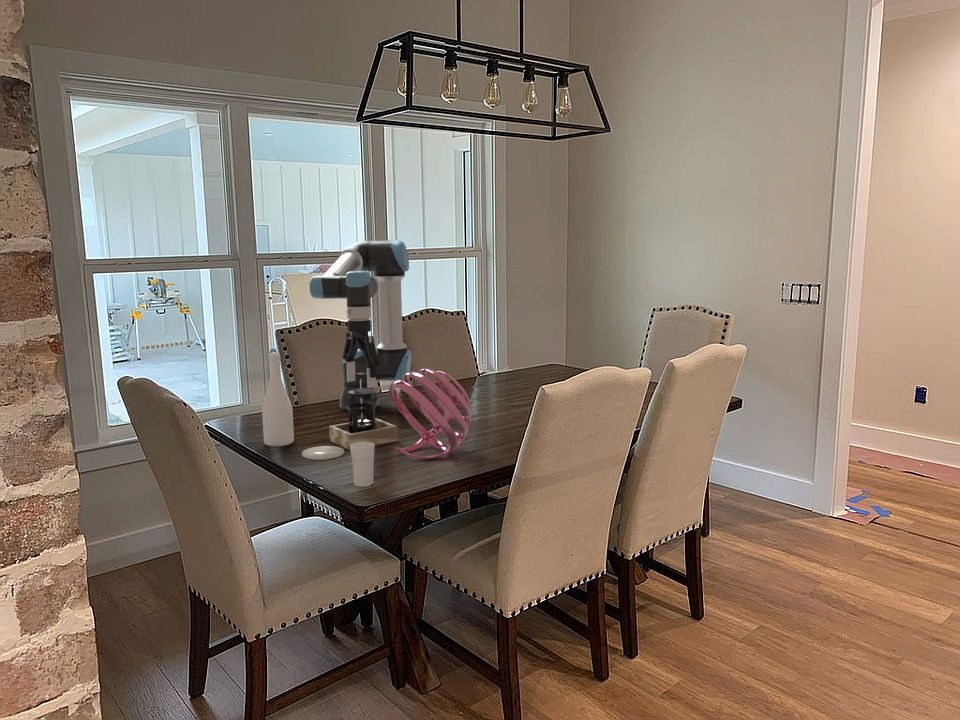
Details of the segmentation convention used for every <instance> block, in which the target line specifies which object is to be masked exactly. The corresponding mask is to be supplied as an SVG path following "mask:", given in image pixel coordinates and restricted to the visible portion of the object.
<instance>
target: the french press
mask: <svg viewBox="0 0 960 720" xmlns="http://www.w3.org/2000/svg"><path fill="white" fill-rule="evenodd" d="M366 374H367V373H363V372H359V373H355V374H354V375H358V376H359V379H360V389H353V390H349V391H347V394H349V398H350V397H352V396H359V397H361V403H355V404H351V405H348V410H347V411H348V423H349V433H351V434H352V433H358V432H363V431H368V430H374V429H375V418H376V407H375V404H373V403H362V399H364V400H369V399H372V398H374V395H373V393H374V392H376V390H375V389H374V390H373V389H361V379H362V375H366ZM355 407H361V409H352V408H355ZM362 407H366V409H362ZM358 414H361V415H360V416H361V418H360V419H359V418H358ZM363 414H365V418H363ZM352 427H353V429H352ZM358 427H366V428H358Z"/></svg>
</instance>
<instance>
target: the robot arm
mask: <svg viewBox="0 0 960 720" xmlns="http://www.w3.org/2000/svg"><path fill="white" fill-rule="evenodd" d="M409 265H410V261H409V252H408V249H407V246H406V244H405V242H403V241H402V240H396V239H395V240H394V239H391V240H389V239H388V240H387V239H385V240H360V241H358V242H355V243H353V244H350V245H348V246H346V247H345V248H344V249H343V250H341V252H339V254H338V256H337V260H336V261H335V262H334V263H333V265H332V266H331V267H330V268H329V269H328V270H327V271H326V272H325V273H324V274H323V275H314V276H312V277H311V278H310V280H309V293H310V296H311V297H312V299H321V300H325V299H326V300H328V299H331V300H333V299H337V300H338V299H340V300H341V299H346V310H345V311H346V313H347V315H346V316H347V317H346V318H347V319H348V320H347V332H346V333H345V334H346V335H345V337H346V339H345V343H344V349H343V353H342V363H341V364H342V379H343V380H342V381H343V385H342V386H343V388H342V392H341V396H340V398H339V399H340V400H339V408H340V409H342V410H346V411H348V405H351V404H355V403H361V397H359V396H352V397H350V398H349V394H347V391H349V390H353V389H360V379H359V376H358V375H354V374H355V373H359V372H363V373H367V374H366V375H362V379H361V389H373V390H375V388H376V387H377V381H390V382H391V381H393V382H394V381H396V380H401V381H402V376H403V375H404V374H405V373H407V372H410V371H411V366H412V352H411V351H410V350H408V345H406V344H405V342H404V341H403V308H402V307H403V305H402V304H403V301H402V280H403V279H404V278H405V276H406V275H405V273H406V272H408V271H409V269H410V266H409ZM370 272H373V273H374V277H373V276H372V275H370ZM377 293H378V302H379V303H378V304H379V331H380V334H379V335H380V343H379V344H377V346H376V345H375V340H374V336H373V335H369V334H368V333H369V332H371V331H372V320H371V318H372V311H371V309H372V307H371V298H373V297H374V296H376V294H377ZM373 395H374V398H372V399H369V400H364V399H362V403H373V404H375V408H377V407H378V406H379V398H378V396H377V393H376V391H375V392H374V393H373ZM352 409H361V407H355V408H352ZM362 409H366V407H362Z"/></svg>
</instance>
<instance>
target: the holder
mask: <svg viewBox="0 0 960 720" xmlns="http://www.w3.org/2000/svg"><path fill="white" fill-rule="evenodd" d="M328 427H329V428H328V429H329V431H328V434H329V441H330V442H332V443H333V444H335V445H338V446H339V447H341V448H343V449H346V450H349V451H351V450H350V445H351V444H353V443H356V442H372V443H374V447H375V446H379V445H383V444H384V445H385V444H388V443H389V444H390V443H393V442H398V426H397V425H395V424H392V423H390V422H387V421H384V420H383V419H380V418H377V417H375V429H374V430H368V431H363V432H358V433H352V434H351V433H349V422H345V423H339V424H333V425H329V426H328ZM358 428H366V427H358ZM352 429H353V427H352Z"/></svg>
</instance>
